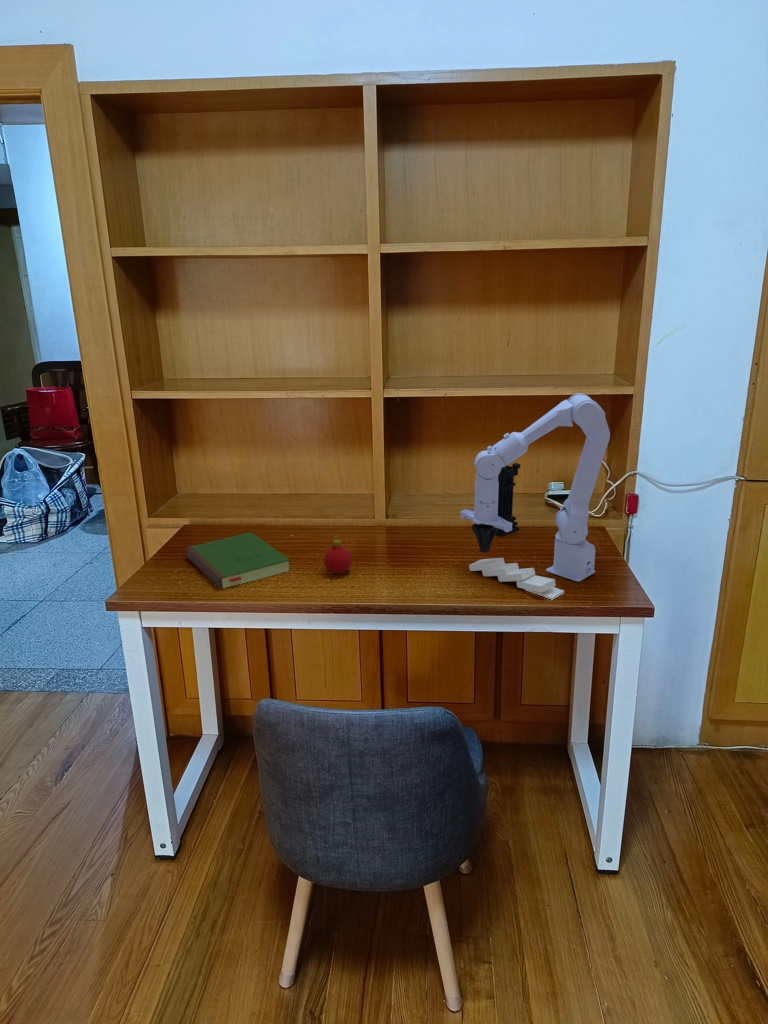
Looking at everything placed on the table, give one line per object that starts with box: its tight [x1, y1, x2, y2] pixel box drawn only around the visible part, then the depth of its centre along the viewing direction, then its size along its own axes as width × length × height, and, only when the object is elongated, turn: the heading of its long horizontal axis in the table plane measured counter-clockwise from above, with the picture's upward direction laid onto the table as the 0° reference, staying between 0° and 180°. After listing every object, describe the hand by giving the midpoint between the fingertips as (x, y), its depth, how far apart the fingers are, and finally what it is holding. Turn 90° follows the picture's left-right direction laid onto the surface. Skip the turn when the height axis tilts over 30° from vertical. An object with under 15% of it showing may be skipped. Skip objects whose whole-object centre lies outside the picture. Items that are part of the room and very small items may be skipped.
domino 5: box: [524, 586, 565, 601], centre depth 161 cm, size 2×5×8 cm
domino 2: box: [481, 562, 520, 577], centre depth 169 cm, size 2×5×8 cm
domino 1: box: [468, 557, 506, 572], centre depth 172 cm, size 2×5×8 cm
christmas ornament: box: [323, 535, 353, 575], centre depth 173 cm, size 7×7×10 cm
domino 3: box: [497, 567, 536, 583], centre depth 166 cm, size 2×5×8 cm
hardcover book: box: [186, 531, 291, 590], centre depth 180 cm, size 25×19×4 cm
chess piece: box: [495, 462, 521, 538], centre depth 197 cm, size 8×8×20 cm
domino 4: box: [516, 574, 557, 593], centre depth 161 cm, size 2×5×8 cm
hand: (484, 551), depth 171 cm, fingers closed
